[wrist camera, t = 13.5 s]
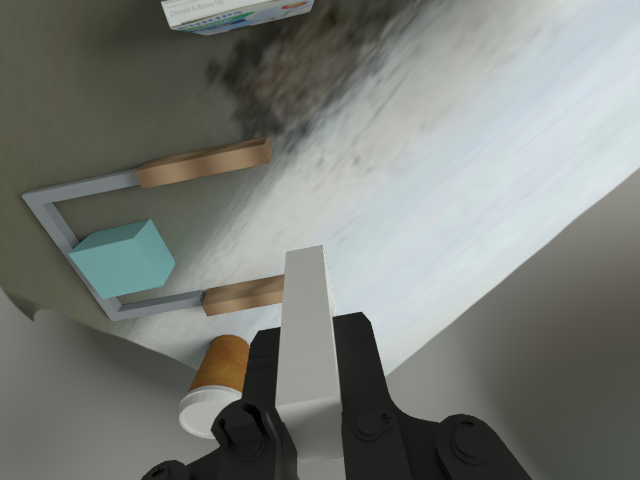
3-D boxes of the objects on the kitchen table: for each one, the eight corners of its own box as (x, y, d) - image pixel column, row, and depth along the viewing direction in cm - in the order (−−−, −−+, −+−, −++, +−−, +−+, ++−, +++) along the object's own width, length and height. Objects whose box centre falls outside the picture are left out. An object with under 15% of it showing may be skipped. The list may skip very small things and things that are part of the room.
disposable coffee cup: (188, 351, 52) (161, 424, 42) (222, 317, 49) (202, 389, 39) (236, 374, 56) (222, 448, 46) (271, 345, 53) (264, 417, 43)
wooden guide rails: (267, 136, 36) (264, 144, 33) (306, 282, 47) (307, 297, 44) (147, 161, 37) (133, 171, 34) (213, 299, 47) (207, 316, 44)
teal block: (151, 218, 40) (133, 238, 36) (176, 262, 44) (163, 285, 40) (92, 232, 41) (67, 254, 37) (121, 275, 44) (102, 299, 40)
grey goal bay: (141, 167, 37) (135, 171, 36) (205, 298, 47) (202, 305, 46) (30, 190, 38) (20, 195, 36) (117, 314, 48) (112, 321, 46)
